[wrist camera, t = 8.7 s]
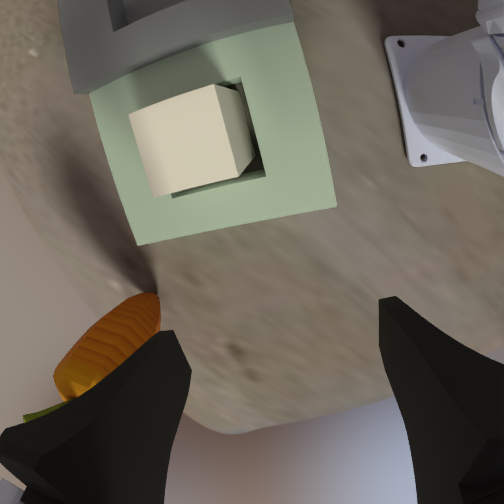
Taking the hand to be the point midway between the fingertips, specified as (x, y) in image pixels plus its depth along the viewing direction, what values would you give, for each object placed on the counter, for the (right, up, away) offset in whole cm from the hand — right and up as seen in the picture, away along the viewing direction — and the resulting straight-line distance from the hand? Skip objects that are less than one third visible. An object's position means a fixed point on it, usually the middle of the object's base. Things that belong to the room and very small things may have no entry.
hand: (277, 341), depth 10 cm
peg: (-3, +10, +7) cm, 13 cm away
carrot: (-8, 0, +13) cm, 16 cm away
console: (-4, +14, +5) cm, 16 cm away
